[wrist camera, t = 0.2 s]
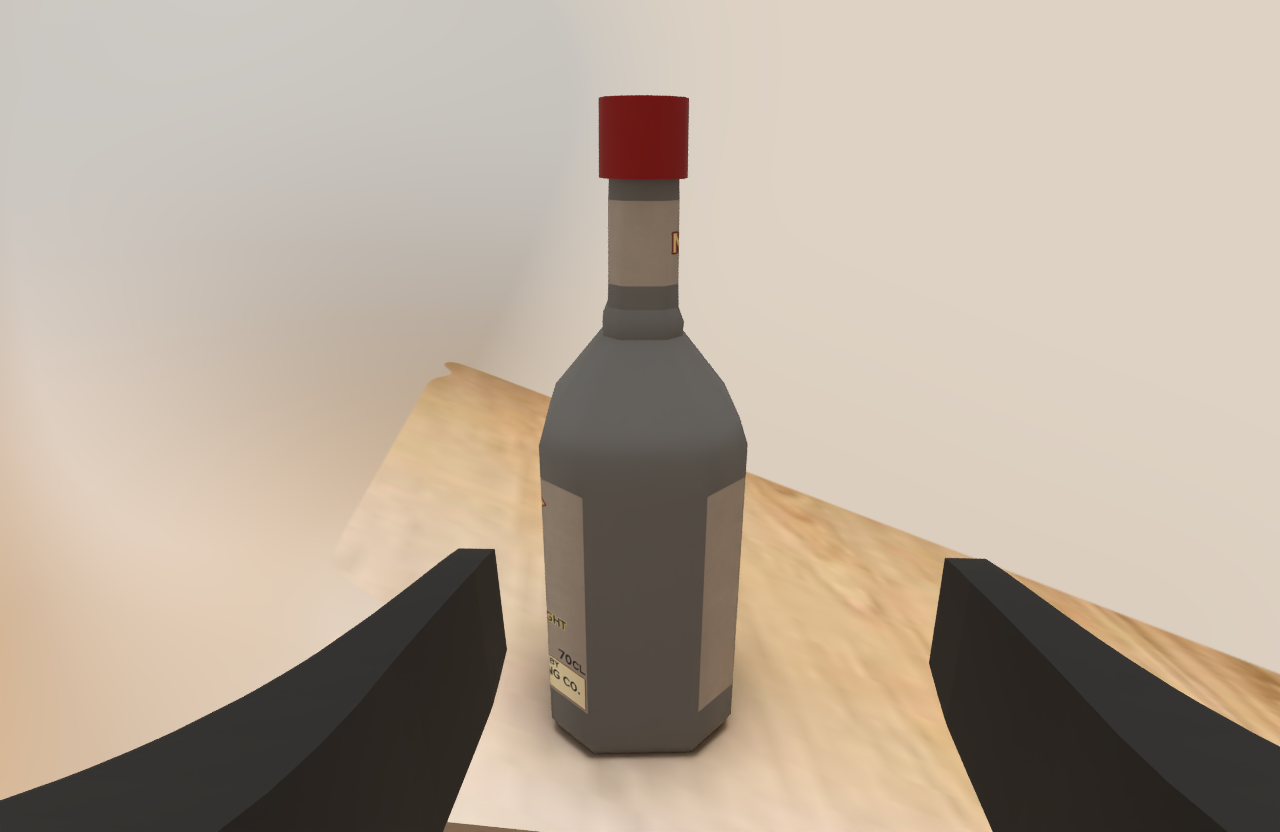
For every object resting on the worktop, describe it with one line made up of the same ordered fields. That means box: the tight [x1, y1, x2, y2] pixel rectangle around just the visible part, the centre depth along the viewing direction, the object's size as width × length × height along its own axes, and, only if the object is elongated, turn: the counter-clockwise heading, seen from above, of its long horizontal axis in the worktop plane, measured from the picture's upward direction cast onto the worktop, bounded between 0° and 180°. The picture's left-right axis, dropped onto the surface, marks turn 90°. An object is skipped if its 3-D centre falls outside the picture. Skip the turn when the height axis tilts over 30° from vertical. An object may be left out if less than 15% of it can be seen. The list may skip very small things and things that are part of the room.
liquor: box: [539, 95, 747, 754], centre depth 34 cm, size 9×9×30 cm
